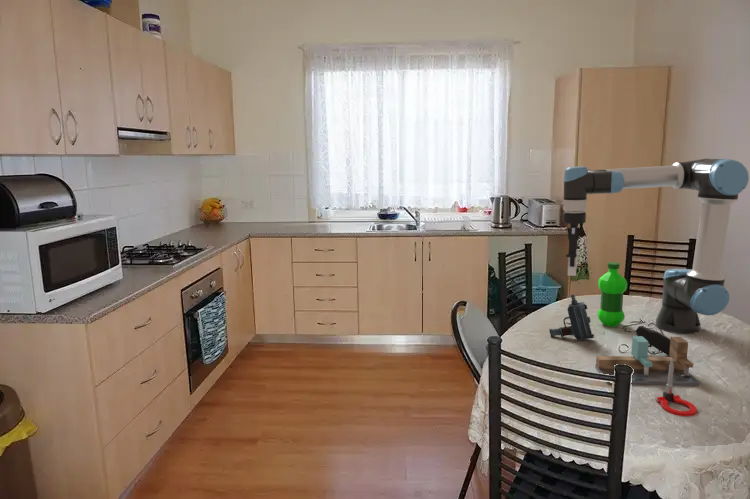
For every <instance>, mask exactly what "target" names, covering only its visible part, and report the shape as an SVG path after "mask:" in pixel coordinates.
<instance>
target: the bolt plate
mask: <svg viewBox="0 0 750 499" xmlns="http://www.w3.org/2000/svg"><path fill="white" fill-rule="evenodd" d="M595 369H596V371H597V372H598V374H600V373H603V374H609V375H614V369H599V368H598V367H597V365H596V364H595ZM668 371H669V370H655V369H649V371H648V375H647V376H646V375H644V369H634V373H633V375H632V383H631V384H630V385H647V386H666V384H667V380H668ZM605 383H606V384H608V385H613V384H612V383H610V382H605ZM672 385H673V386H695V387H696V386H697V387H698V386H700V381H699V380H698V379H697V378H696V377H695V376H694V375H692V374H691V373H690V372H689V374H688V376H684V370H673V380H672Z"/></svg>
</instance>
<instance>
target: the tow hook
mask: <svg viewBox="0 0 750 499" xmlns="http://www.w3.org/2000/svg"><path fill="white" fill-rule="evenodd" d="M673 362H674V359H673V358H671V360H670V365H669V371H668V380H667V384H666V385H665V391H663V393H662V396H657V397H655V402H656V403H659V404H660V406H661V408H662V409H663V410H665V411H666V412H667V413H669V414H673V415H677V416H681V417H692V416H694V415H696V414H697V411H698V408H697V406H695V404H694V403H692V402H690V401H687V400H685V399H682V398H681V396H680V395H679V394H676V395H674V393H673V386H674V385H672V380H673V370H674V366H673ZM670 402H675V403H676V404H681V405H683V406H686V407H687V408H689V409H688V410H678V409H675V408H673V407H671V406H669V403H670Z"/></svg>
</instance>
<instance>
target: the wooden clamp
mask: <svg viewBox="0 0 750 499" xmlns="http://www.w3.org/2000/svg"><path fill="white" fill-rule="evenodd" d="M670 339H671V340H670V353H669V356H648V359H649V360H650V361H651V362H652V363H653V364H652V367H649V369H655V370H669V365H670V360H671V358H673V359H674V362H673V366H674V370H684V376H688V374H689V373H690V368H694V363H693V362H692V361H691V360H689V359H688V350H689V349H688V348H689V341H687V340H686V339H685V338H683V337H682V336H670ZM595 357H596V358H595V365H597V367H598V368H599V369H614V365H616V364H626V365H629V366H631V367H632V368H633V369H644V365H643V364H642V363H641V362H640V361H639V360H637V359H636V358H635V357H634V356H633V355H630V356H627V355H626V356H625V355H624V356H622V355H620V356H619V355H618V356H617V355H596V356H595Z"/></svg>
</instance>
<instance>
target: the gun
mask: <svg viewBox="0 0 750 499" xmlns="http://www.w3.org/2000/svg"><path fill="white" fill-rule="evenodd" d="M570 297H571V303H570V304H568V306H567V313H568V316H566V317H564V318H563V325H564V326H559V328H549V330H548V331H549V334H550V337H551V338H552V337H555V336H560V337H561V338H563V337H566V336H573V337H574V338H575V339H576V340H577V341H582V340H590V339H594V338H595V337H594V336H595V334H594V333H592V329H591V325H590V323H591V318H590V316H588V313H587V310H588V305H587V304H585V302H584V301H581V302H578V300H577V299H576V295H575V294H571V295H570ZM568 319H569V322H565V321H566V320H568ZM566 324H567V325H569V326H567V325H566Z"/></svg>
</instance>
